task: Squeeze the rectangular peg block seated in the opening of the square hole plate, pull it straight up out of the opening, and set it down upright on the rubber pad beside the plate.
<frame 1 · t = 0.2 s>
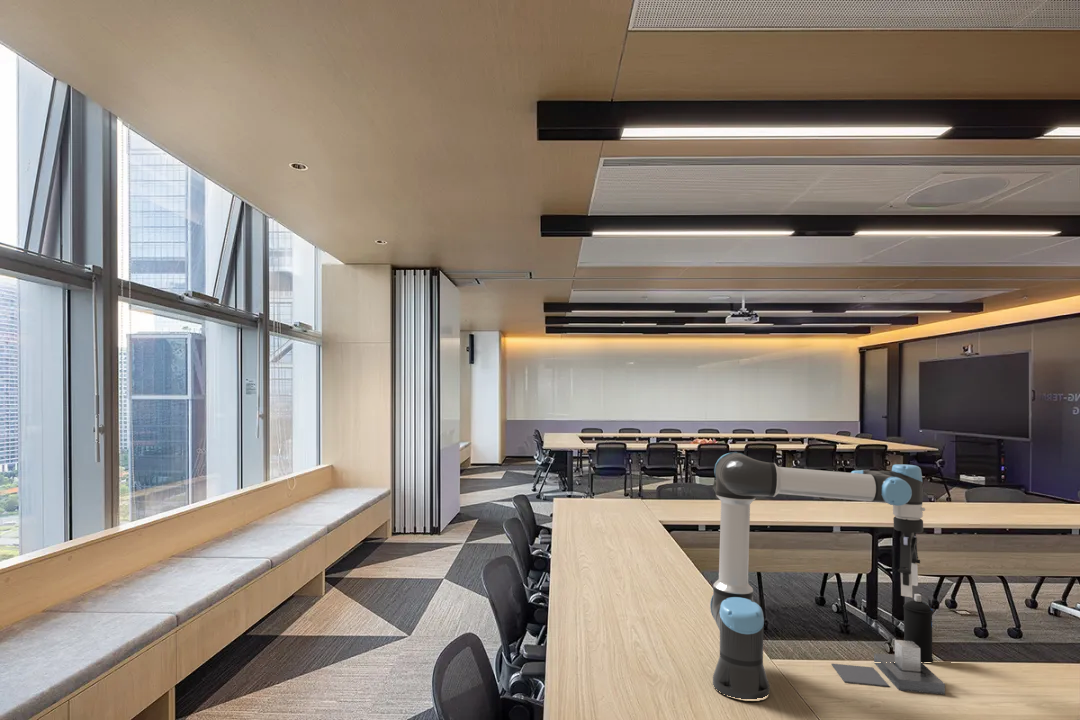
hand: (909, 590, 177), 27 cm above the table, fingers open, 13 cm apart
rubber pad: (859, 675, 180), on the table
rectangular peg block: (907, 660, 180), in the square hole plate
aerosol can: (918, 658, 194), on the table
square hole plate: (907, 678, 179), on the table
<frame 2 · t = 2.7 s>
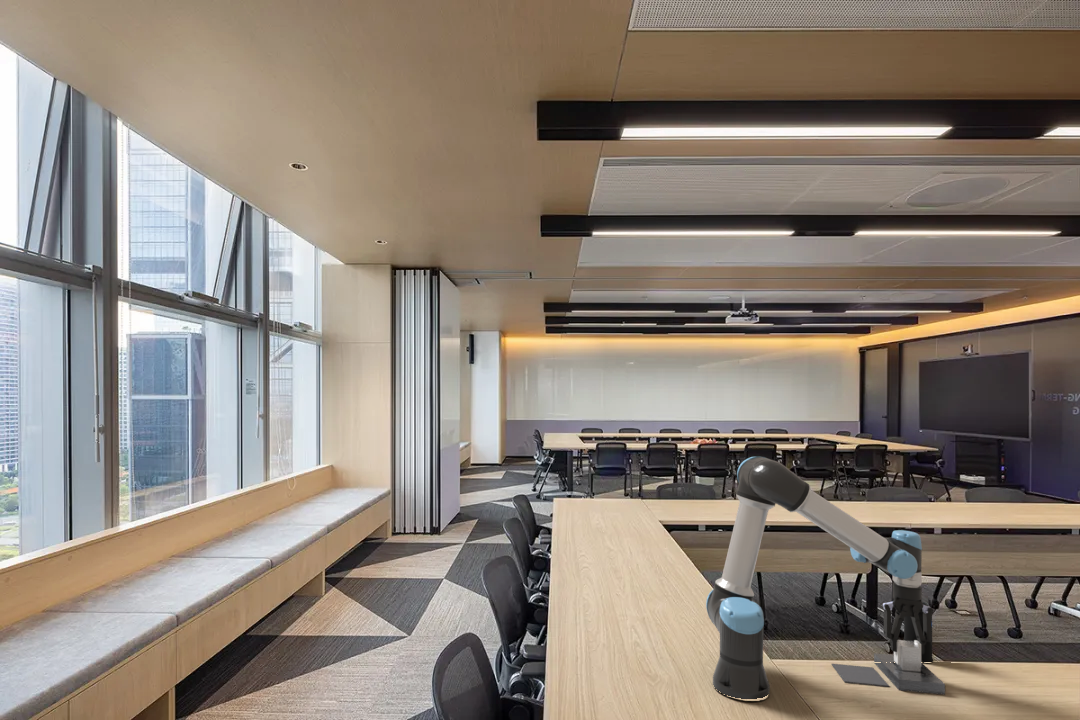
hand: (907, 663, 179), 4 cm above the table, fingers closed on rectangular peg block, 5 cm apart
rectangular peg block: (907, 660, 180), in the square hole plate, touching gripper
everything else where it was.
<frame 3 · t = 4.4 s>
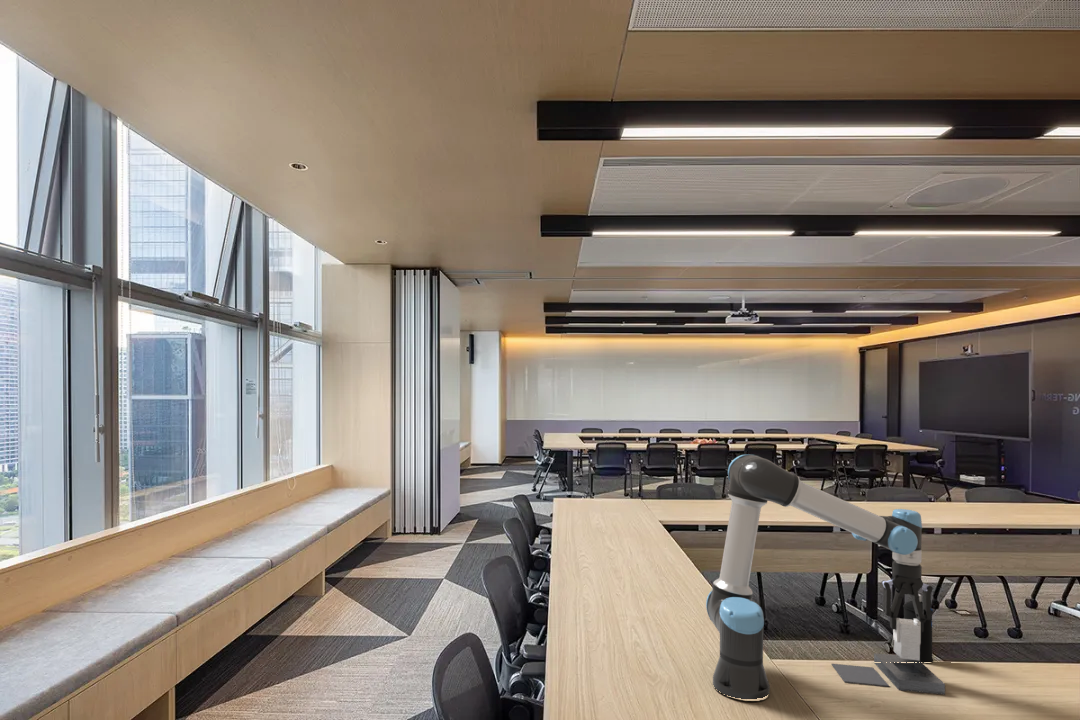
hand: (906, 641, 180), 11 cm above the table, fingers closed on rectangular peg block, 5 cm apart
rectangular peg block: (906, 638, 180), point 11 cm above the table, touching gripper
everything else where it was.
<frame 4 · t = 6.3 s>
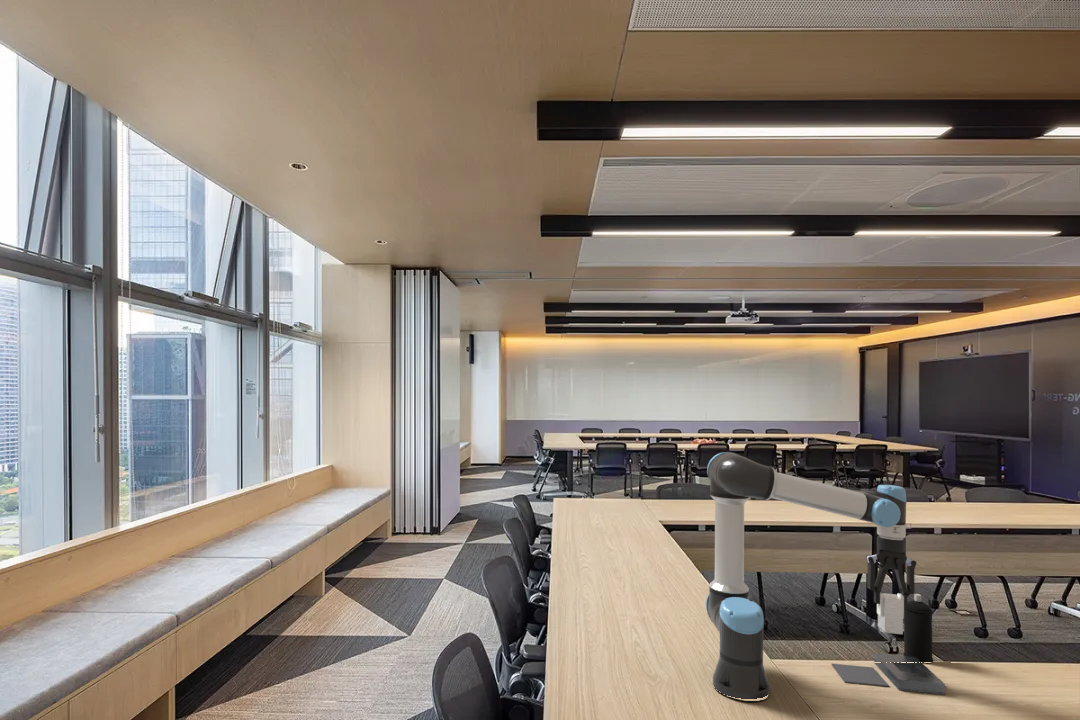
hand: (890, 615, 181), 18 cm above the table, fingers closed on rectangular peg block, 5 cm apart
rectangular peg block: (890, 613, 181), point 19 cm above the table, touching gripper
everything else where it was.
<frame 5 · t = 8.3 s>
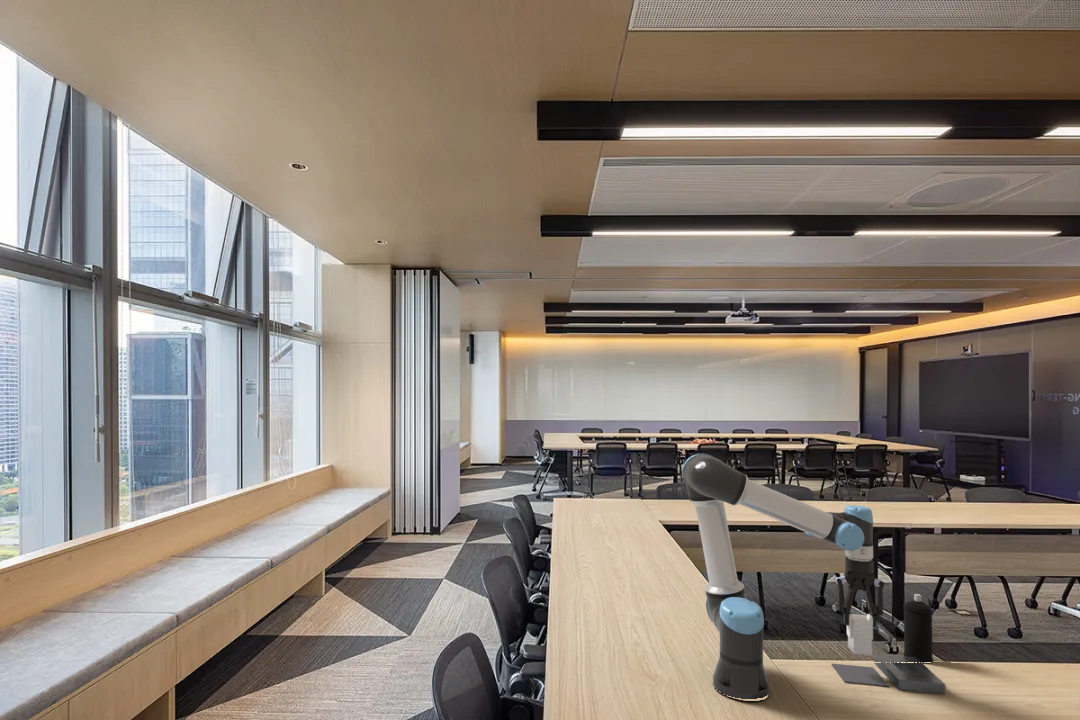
hand: (859, 636, 181), 11 cm above the table, fingers closed on rectangular peg block, 5 cm apart
rectangular peg block: (859, 634, 181), point 12 cm above the table, touching gripper
everything else where it was.
when the fingers open (6 cm above the table, at t = 9.9 s): rectangular peg block drops 1 cm, resting on rubber pad.
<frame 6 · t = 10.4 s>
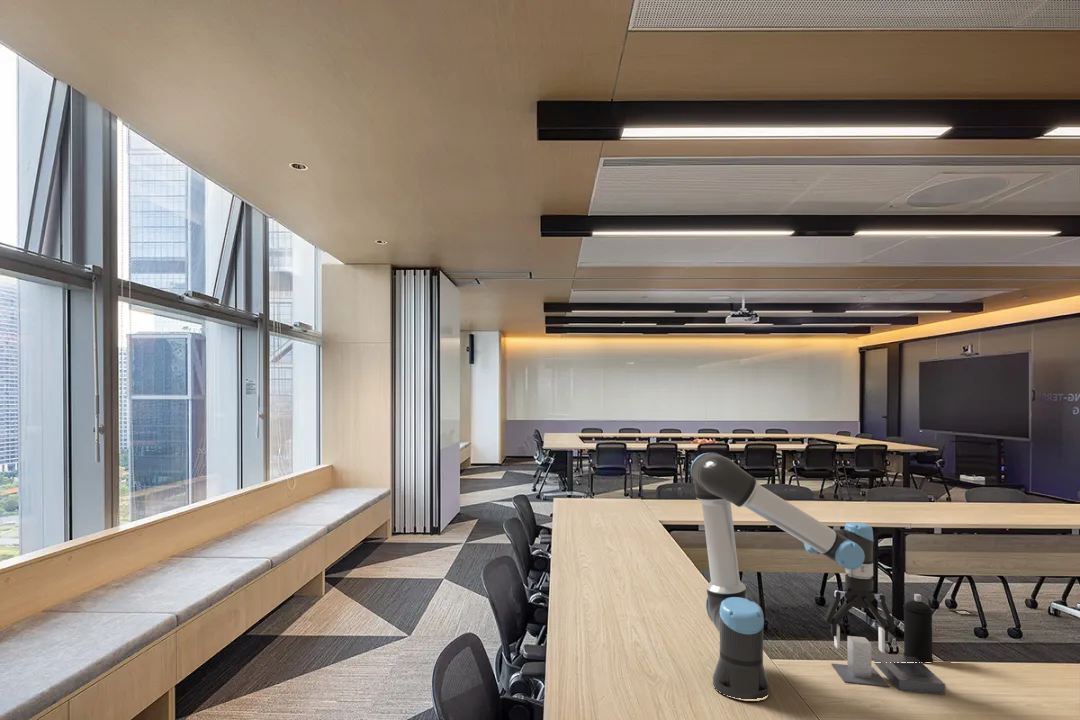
hand: (859, 649, 180), 8 cm above the table, fingers open, 12 cm apart
rectangular peg block: (859, 656, 180), on the rubber pad
everything else where it was.
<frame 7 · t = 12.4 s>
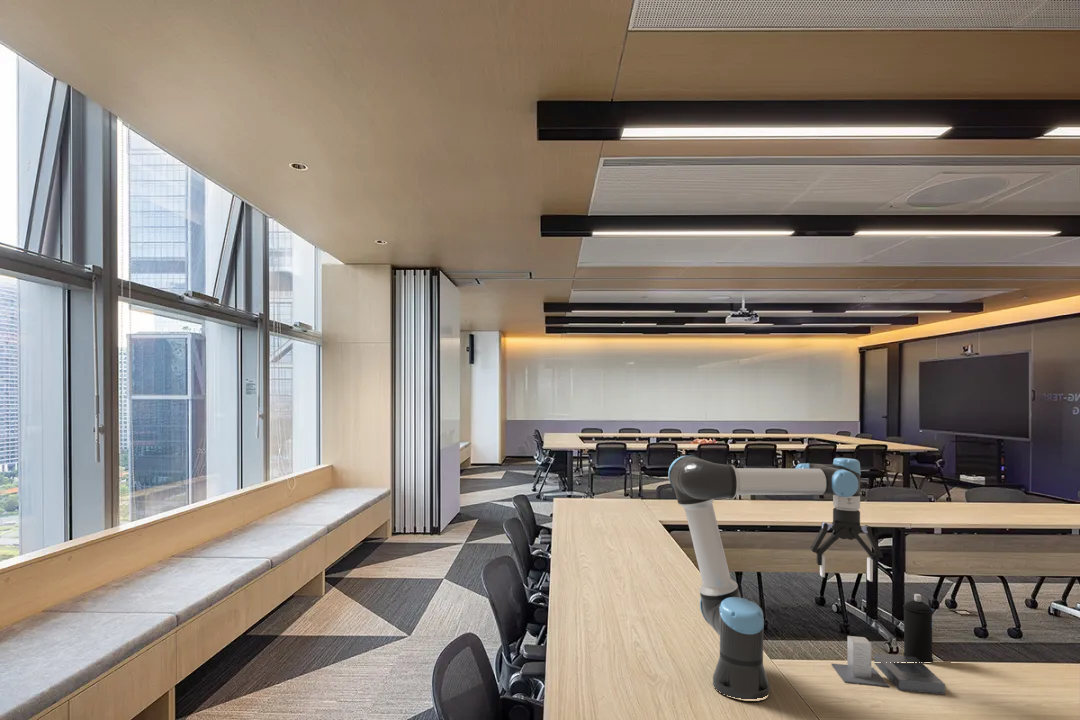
hand: (845, 578, 186), 27 cm above the table, fingers open, 13 cm apart
nothing on the table moved.
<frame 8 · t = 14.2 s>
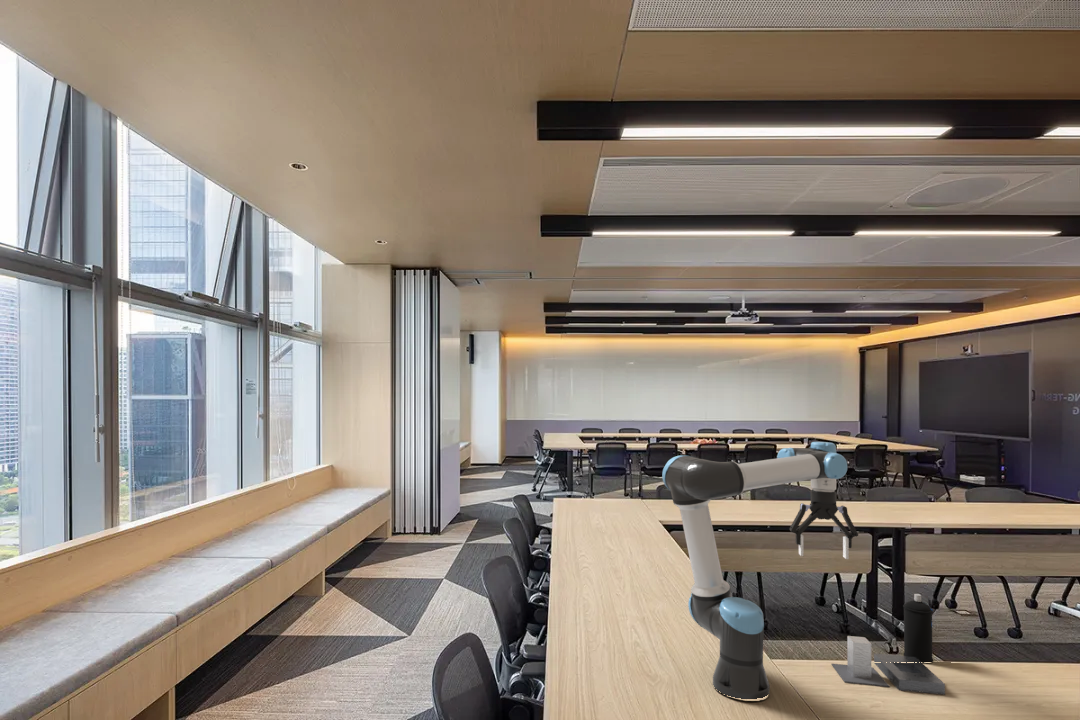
hand: (823, 556, 194), 32 cm above the table, fingers open, 13 cm apart
nothing on the table moved.
at the end: rectangular peg block inside the target area on the rubber pad (0.0 cm from its centre), point 5.4 cm above the rubber pad's base; rectangular peg block tilted 0°; the gripper is holding nothing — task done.
